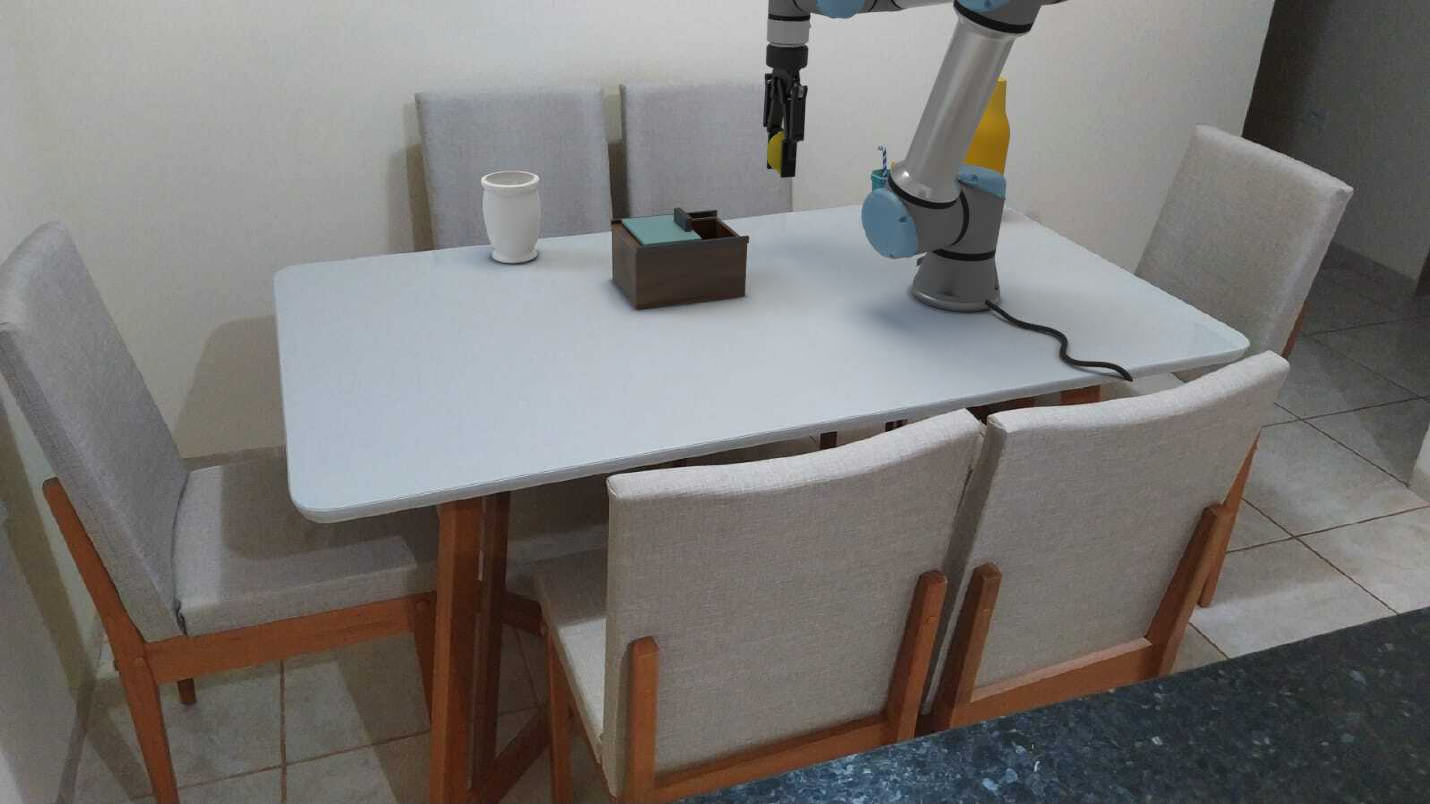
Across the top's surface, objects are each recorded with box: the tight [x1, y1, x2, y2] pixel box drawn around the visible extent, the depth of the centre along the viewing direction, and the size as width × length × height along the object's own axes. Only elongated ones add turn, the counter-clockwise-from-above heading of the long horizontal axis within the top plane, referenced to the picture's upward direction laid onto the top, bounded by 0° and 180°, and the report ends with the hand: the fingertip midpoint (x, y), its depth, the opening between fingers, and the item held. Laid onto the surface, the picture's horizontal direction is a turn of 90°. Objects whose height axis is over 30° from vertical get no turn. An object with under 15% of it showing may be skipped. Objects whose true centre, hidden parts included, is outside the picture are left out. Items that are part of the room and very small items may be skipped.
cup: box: [870, 145, 896, 192], centre depth 219 cm, size 14×8×15 cm, turn 10°
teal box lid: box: [621, 207, 702, 246], centre depth 179 cm, size 13×10×3 cm
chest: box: [610, 209, 750, 310], centre depth 183 cm, size 15×20×11 cm
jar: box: [480, 170, 542, 264], centre depth 194 cm, size 11×10×15 cm
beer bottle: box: [962, 77, 1011, 177], centre depth 221 cm, size 9×9×29 cm
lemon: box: [766, 131, 785, 174], centre depth 196 cm, size 6×6×8 cm
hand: (780, 172), depth 197 cm, fingers closed on lemon, 5 cm apart
